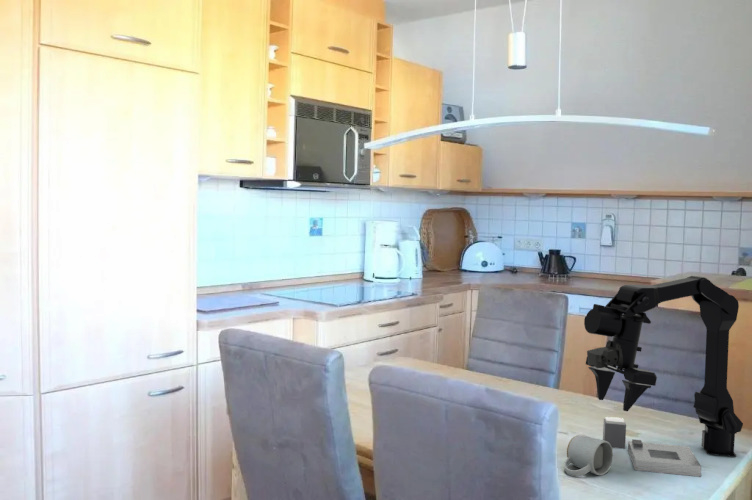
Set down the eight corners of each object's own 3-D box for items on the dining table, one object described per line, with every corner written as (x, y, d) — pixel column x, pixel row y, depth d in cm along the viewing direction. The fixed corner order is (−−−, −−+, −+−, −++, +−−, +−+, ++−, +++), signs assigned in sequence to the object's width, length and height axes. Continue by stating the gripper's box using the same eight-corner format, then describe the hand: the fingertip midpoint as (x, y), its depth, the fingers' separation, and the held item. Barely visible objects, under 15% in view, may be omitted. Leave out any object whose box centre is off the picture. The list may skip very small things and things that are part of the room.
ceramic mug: (583, 460, 167) (584, 428, 166) (613, 471, 160) (614, 438, 159) (554, 471, 160) (555, 438, 160) (584, 482, 154) (585, 448, 153)
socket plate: (688, 456, 171) (689, 443, 170) (700, 476, 158) (701, 462, 158) (627, 450, 174) (628, 438, 173) (635, 470, 161) (635, 456, 161)
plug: (623, 443, 179) (624, 417, 179) (625, 448, 175) (626, 422, 175) (602, 441, 180) (603, 416, 180) (604, 446, 176) (605, 421, 176)
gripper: (573, 327, 169) (560, 390, 169) (622, 342, 151) (608, 413, 151) (611, 333, 172) (599, 396, 172) (664, 349, 155) (650, 418, 155)
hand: (612, 405), depth 163 cm, fingers open, 9 cm apart
